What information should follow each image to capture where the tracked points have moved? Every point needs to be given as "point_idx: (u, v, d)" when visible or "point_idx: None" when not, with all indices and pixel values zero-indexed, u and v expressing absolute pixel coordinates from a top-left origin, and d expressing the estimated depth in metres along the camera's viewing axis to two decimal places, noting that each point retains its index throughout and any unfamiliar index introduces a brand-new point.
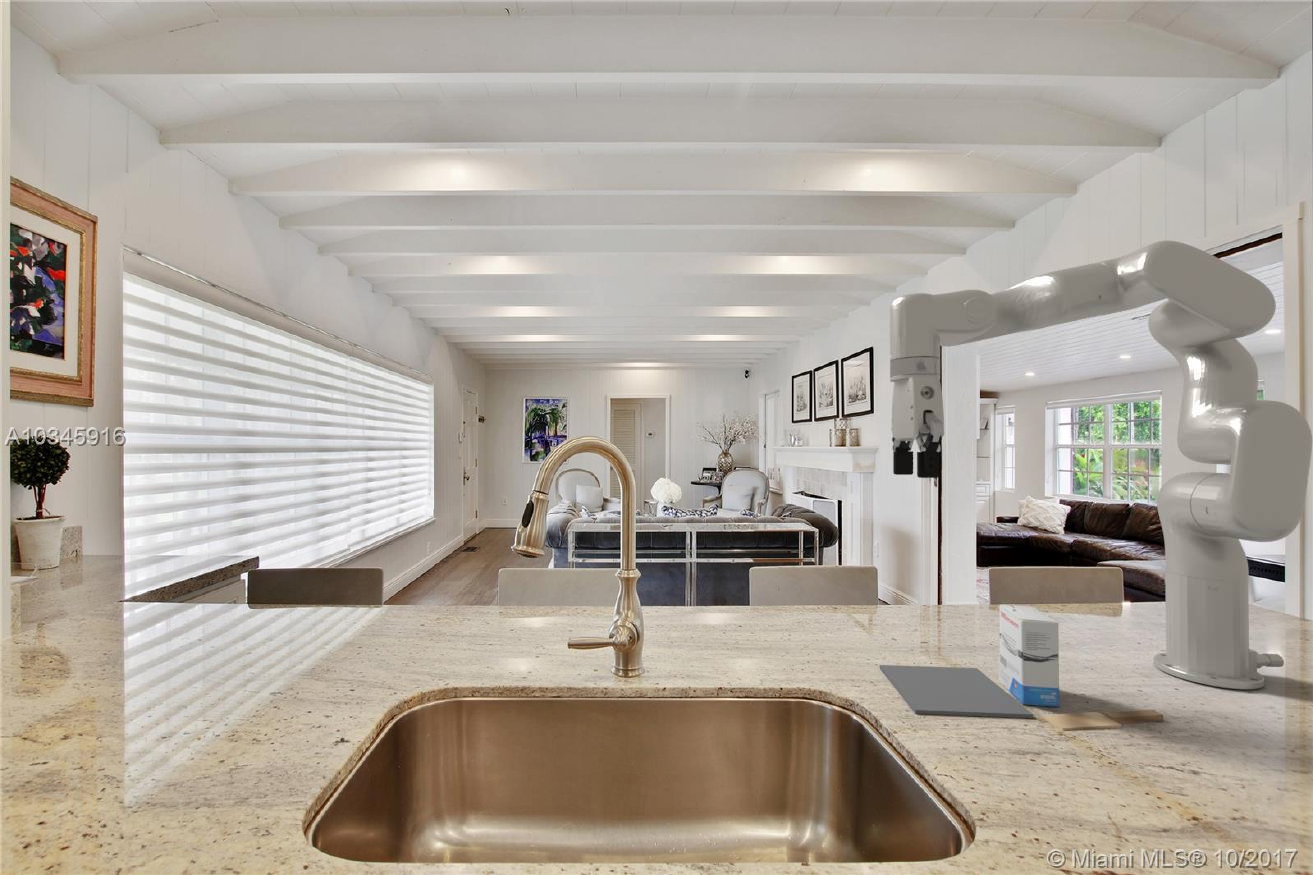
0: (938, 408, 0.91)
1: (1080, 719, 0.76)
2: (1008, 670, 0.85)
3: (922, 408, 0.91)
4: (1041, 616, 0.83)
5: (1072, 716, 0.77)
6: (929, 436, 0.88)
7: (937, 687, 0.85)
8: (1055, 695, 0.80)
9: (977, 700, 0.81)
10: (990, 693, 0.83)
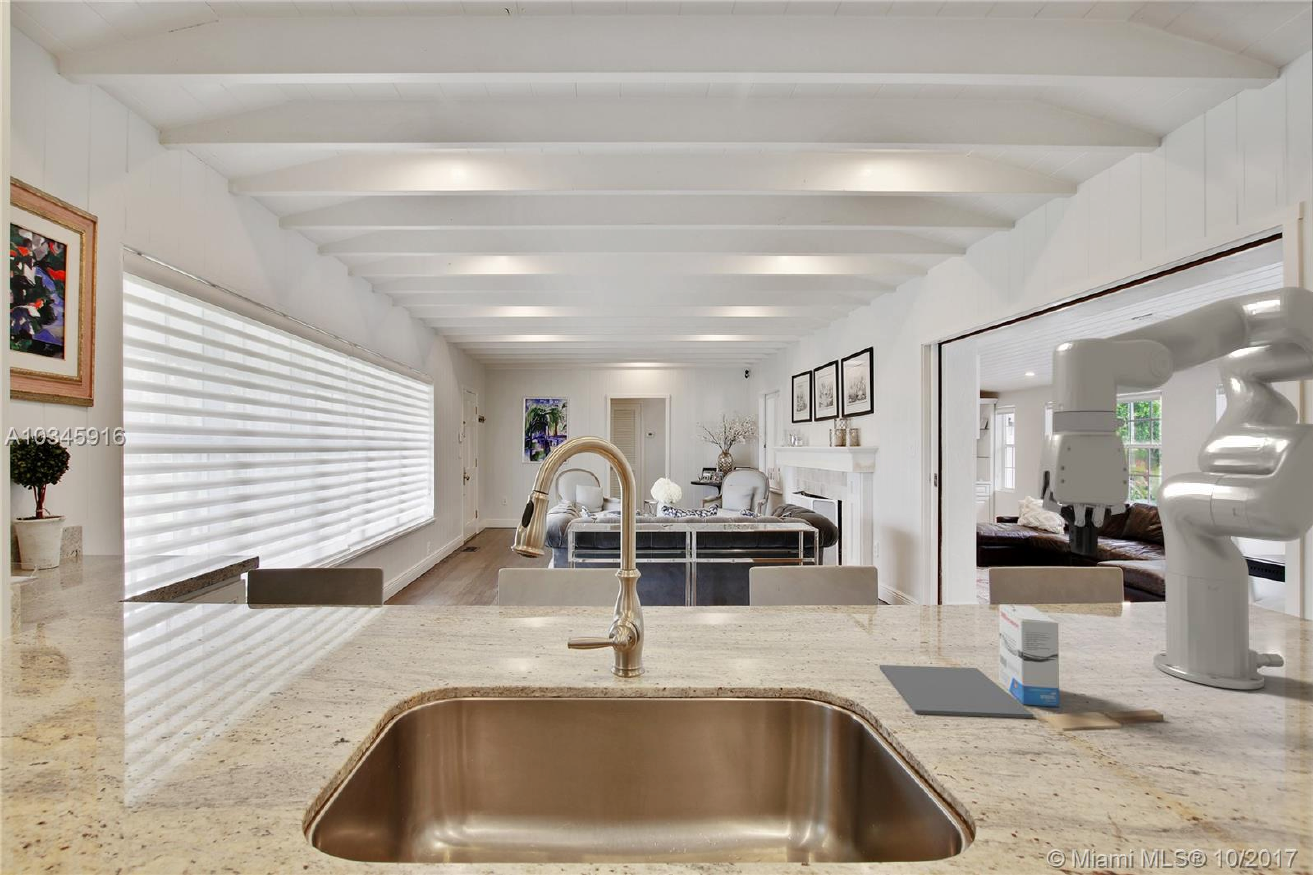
0: None
1: (1080, 719, 0.76)
2: (1008, 670, 0.85)
3: None
4: (1041, 616, 0.83)
5: (1072, 716, 0.77)
6: (1109, 510, 0.83)
7: (937, 687, 0.85)
8: (1055, 695, 0.80)
9: (977, 700, 0.81)
10: (990, 693, 0.83)
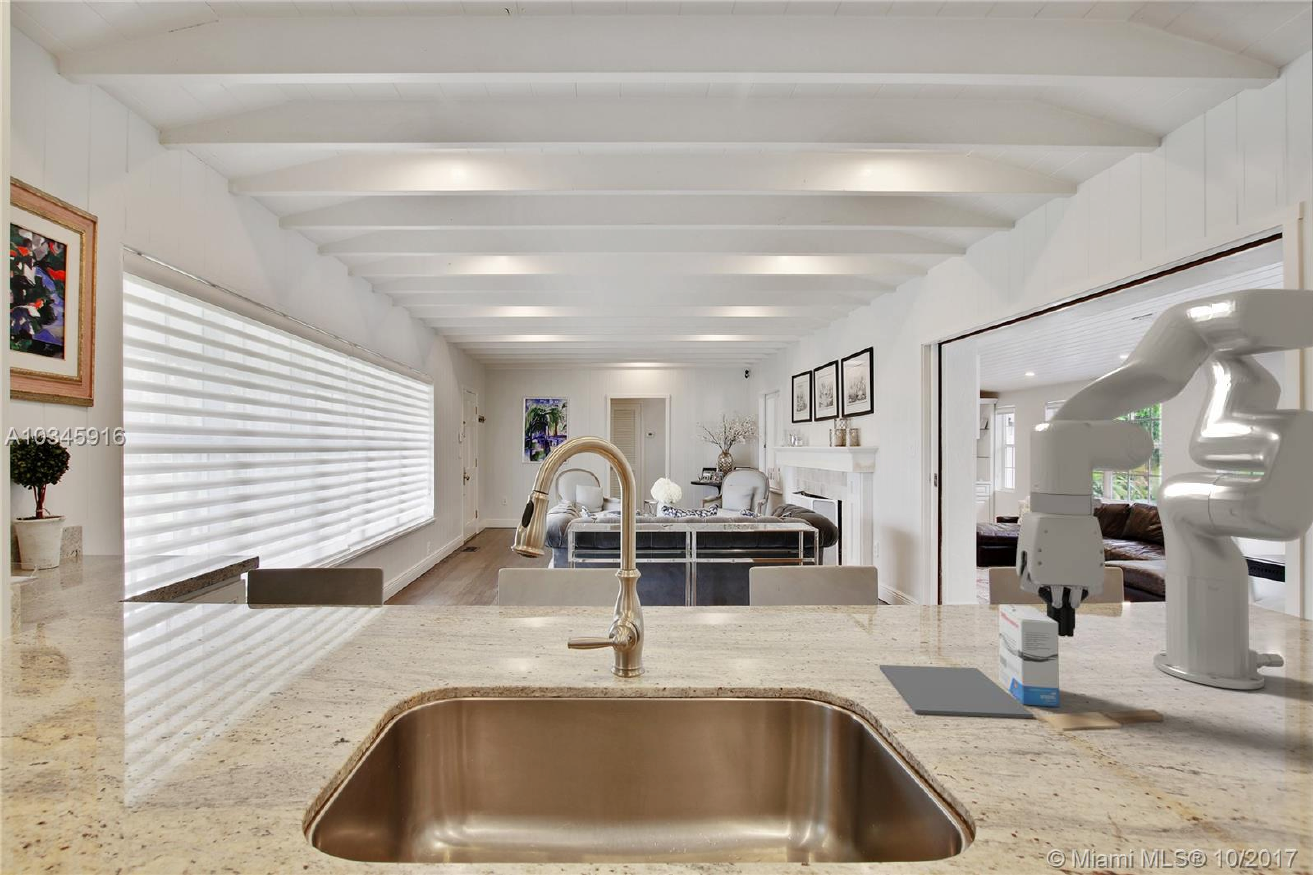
0: None
1: (1080, 719, 0.76)
2: (1008, 670, 0.85)
3: (1101, 552, 0.83)
4: (1041, 616, 0.83)
5: (1072, 716, 0.77)
6: (1086, 591, 0.83)
7: (937, 687, 0.85)
8: (1055, 695, 0.80)
9: (977, 700, 0.81)
10: (990, 693, 0.83)
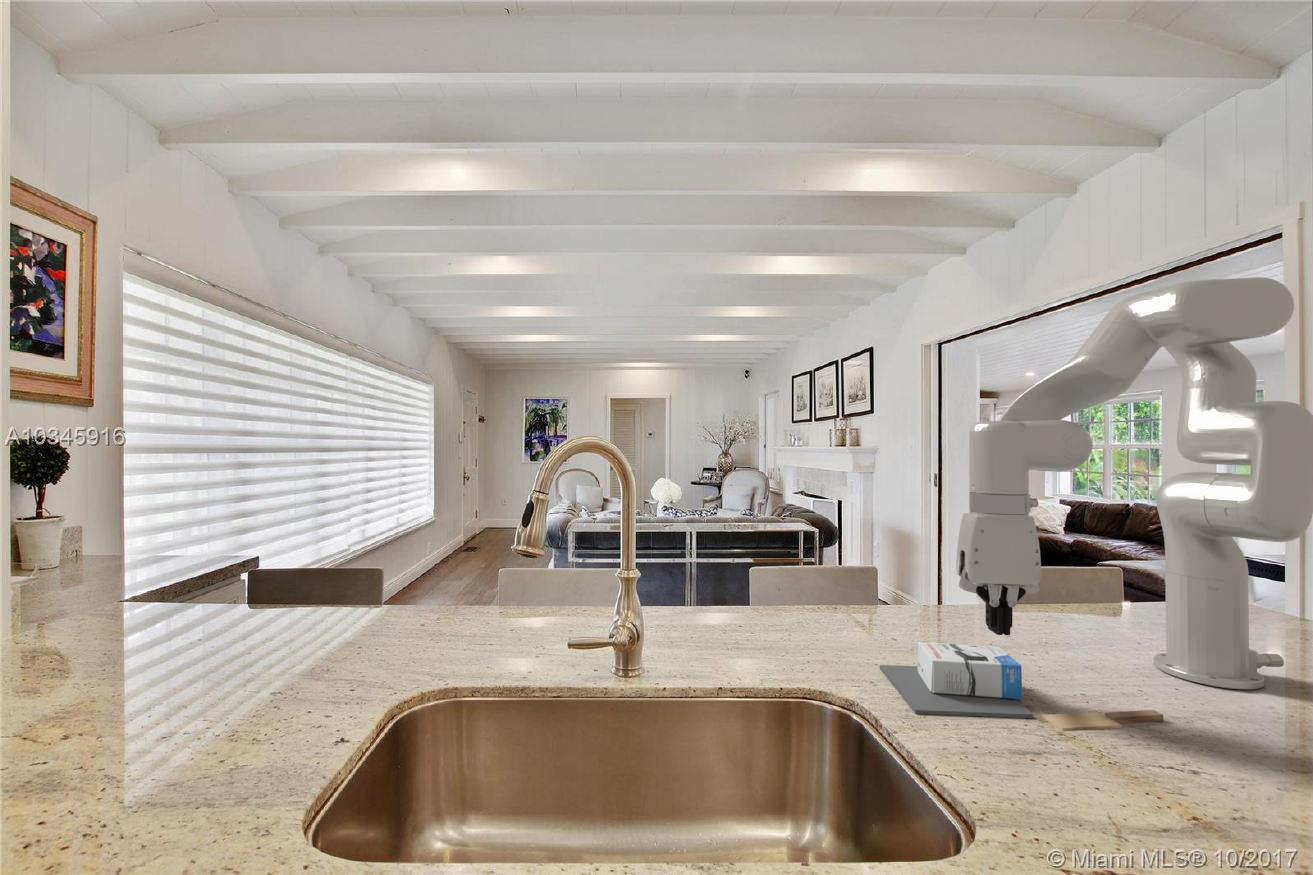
0: None
1: (1080, 719, 0.76)
2: None
3: None
4: (927, 661, 0.85)
5: (1072, 716, 0.77)
6: (1023, 590, 0.84)
7: None
8: (1010, 669, 0.81)
9: (977, 700, 0.81)
10: None
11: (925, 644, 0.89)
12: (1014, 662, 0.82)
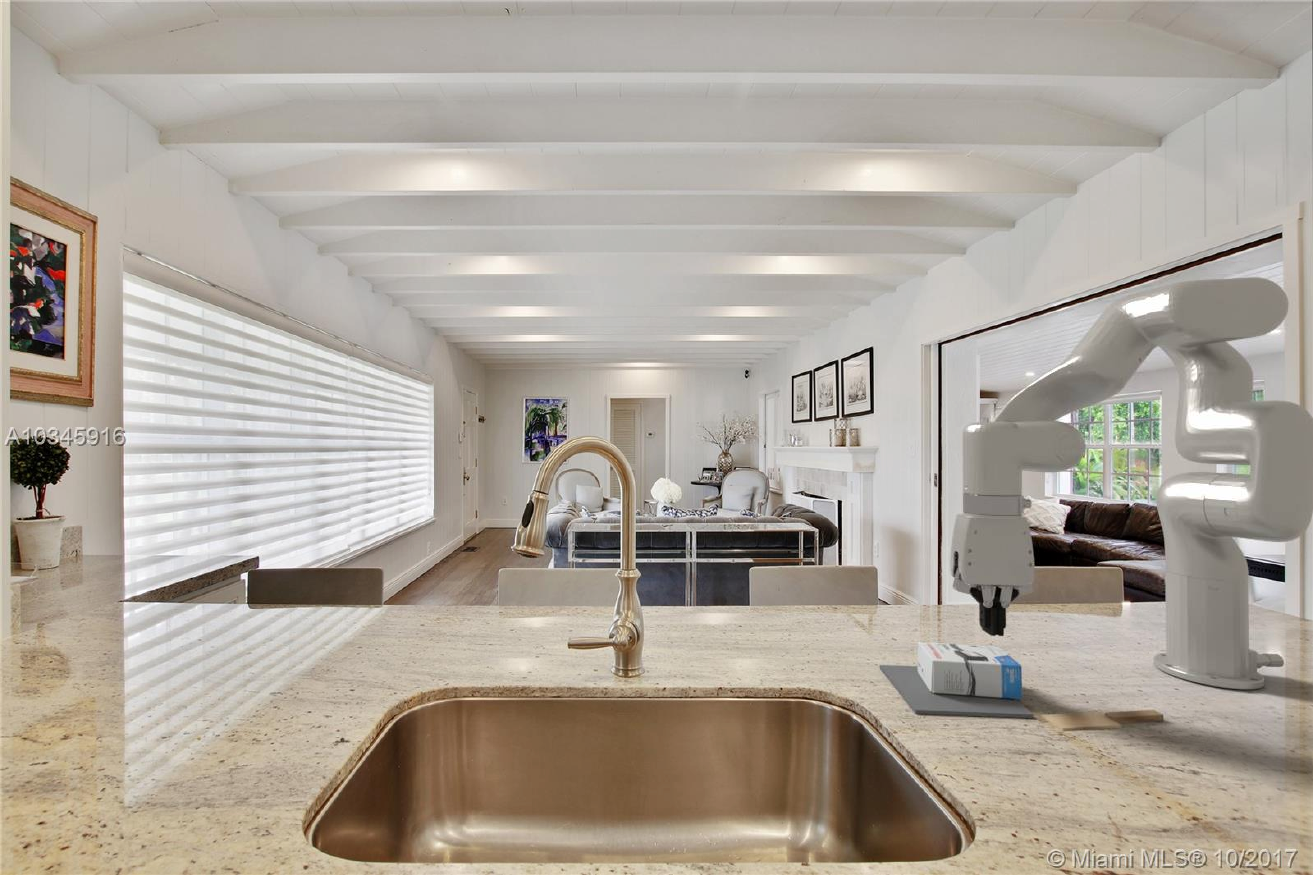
0: None
1: (1080, 719, 0.76)
2: None
3: None
4: (927, 661, 0.85)
5: (1072, 716, 0.77)
6: (1017, 591, 0.84)
7: None
8: (1010, 669, 0.81)
9: (977, 700, 0.81)
10: None
11: (925, 644, 0.89)
12: (1014, 662, 0.82)
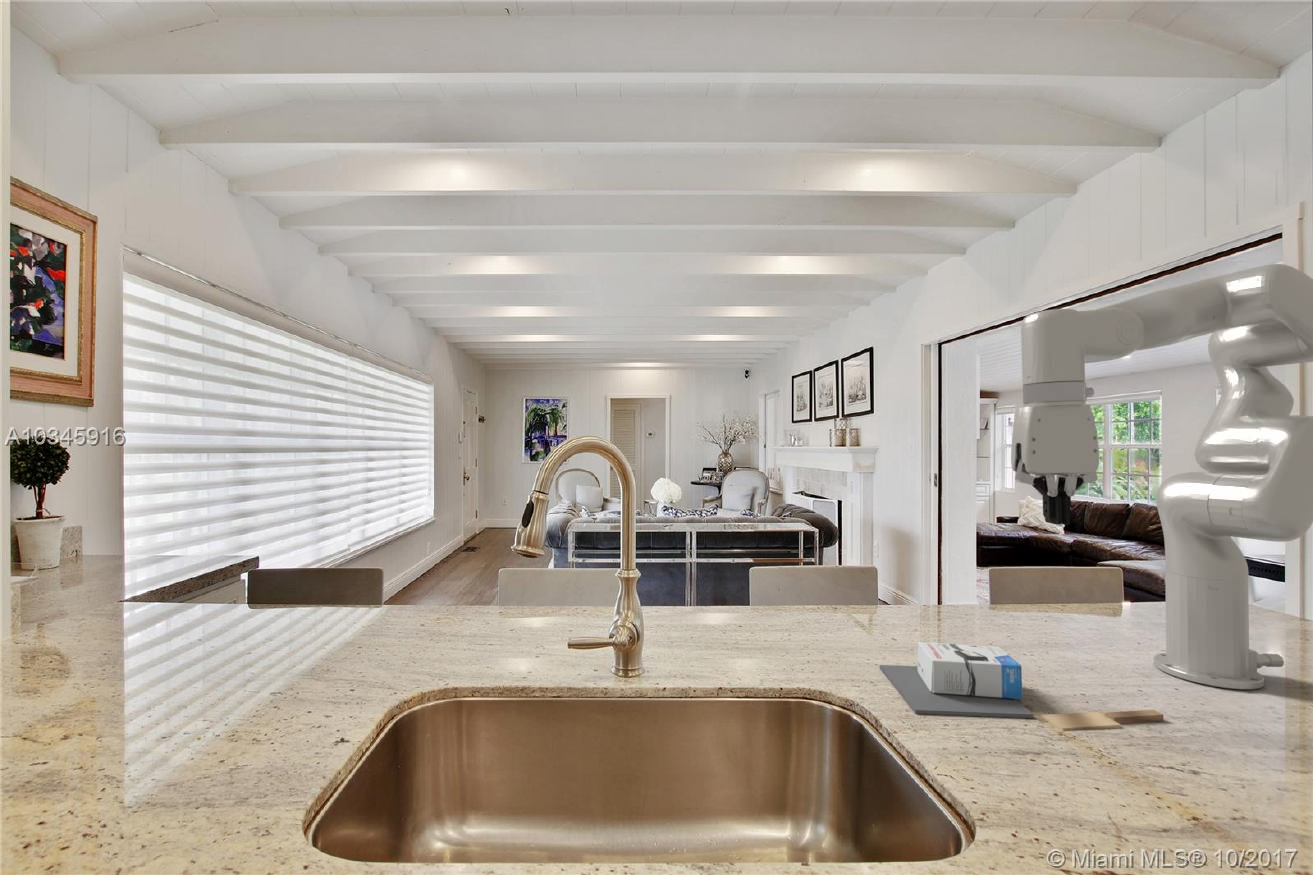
0: None
1: (1080, 719, 0.76)
2: None
3: None
4: (927, 661, 0.85)
5: (1072, 716, 0.77)
6: (1081, 479, 0.83)
7: None
8: (1010, 669, 0.81)
9: (977, 700, 0.81)
10: None
11: (925, 644, 0.89)
12: (1014, 662, 0.82)
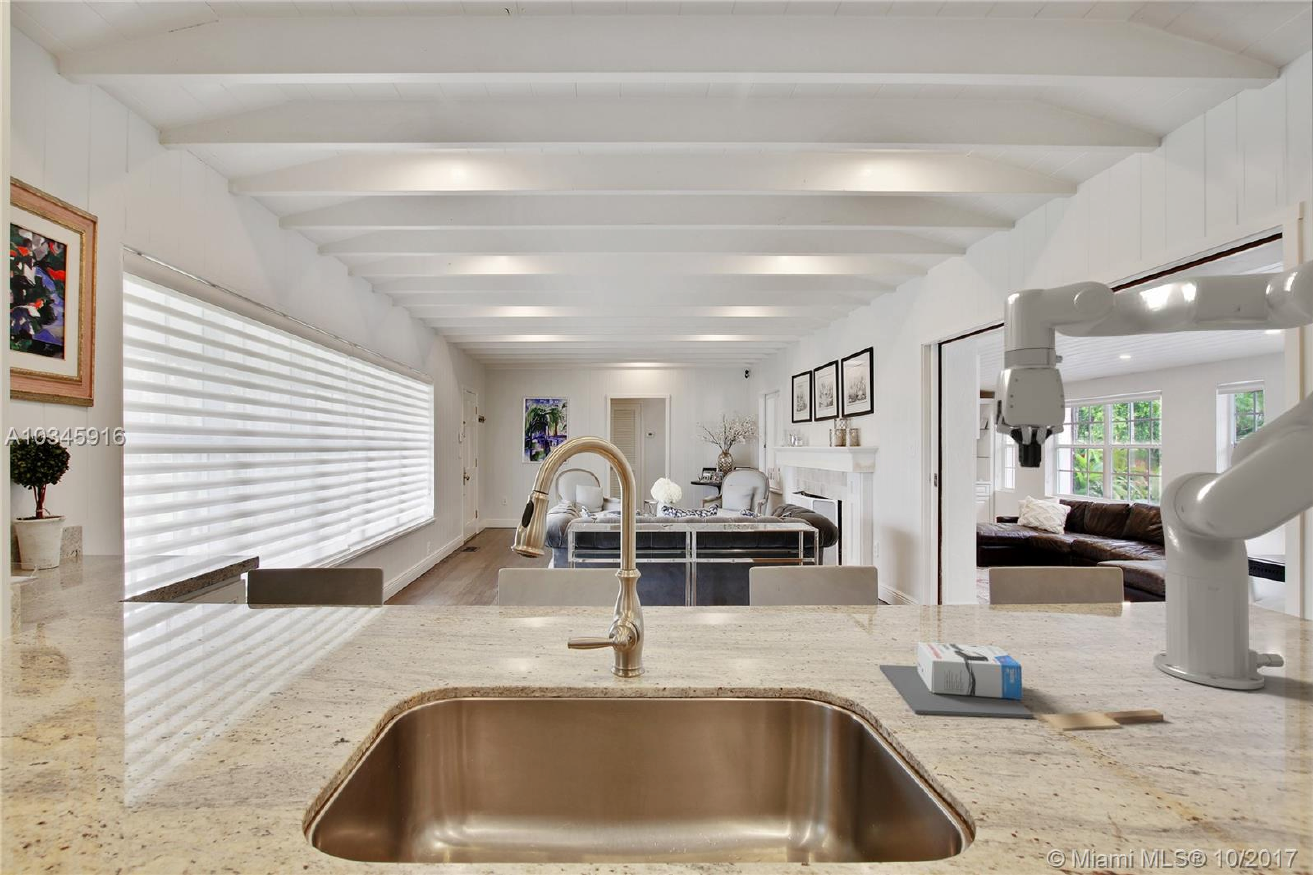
0: None
1: (1080, 719, 0.76)
2: None
3: None
4: (927, 661, 0.85)
5: (1072, 716, 0.77)
6: (1050, 430, 1.01)
7: None
8: (1010, 669, 0.81)
9: (977, 700, 0.81)
10: None
11: (925, 644, 0.89)
12: (1014, 662, 0.82)
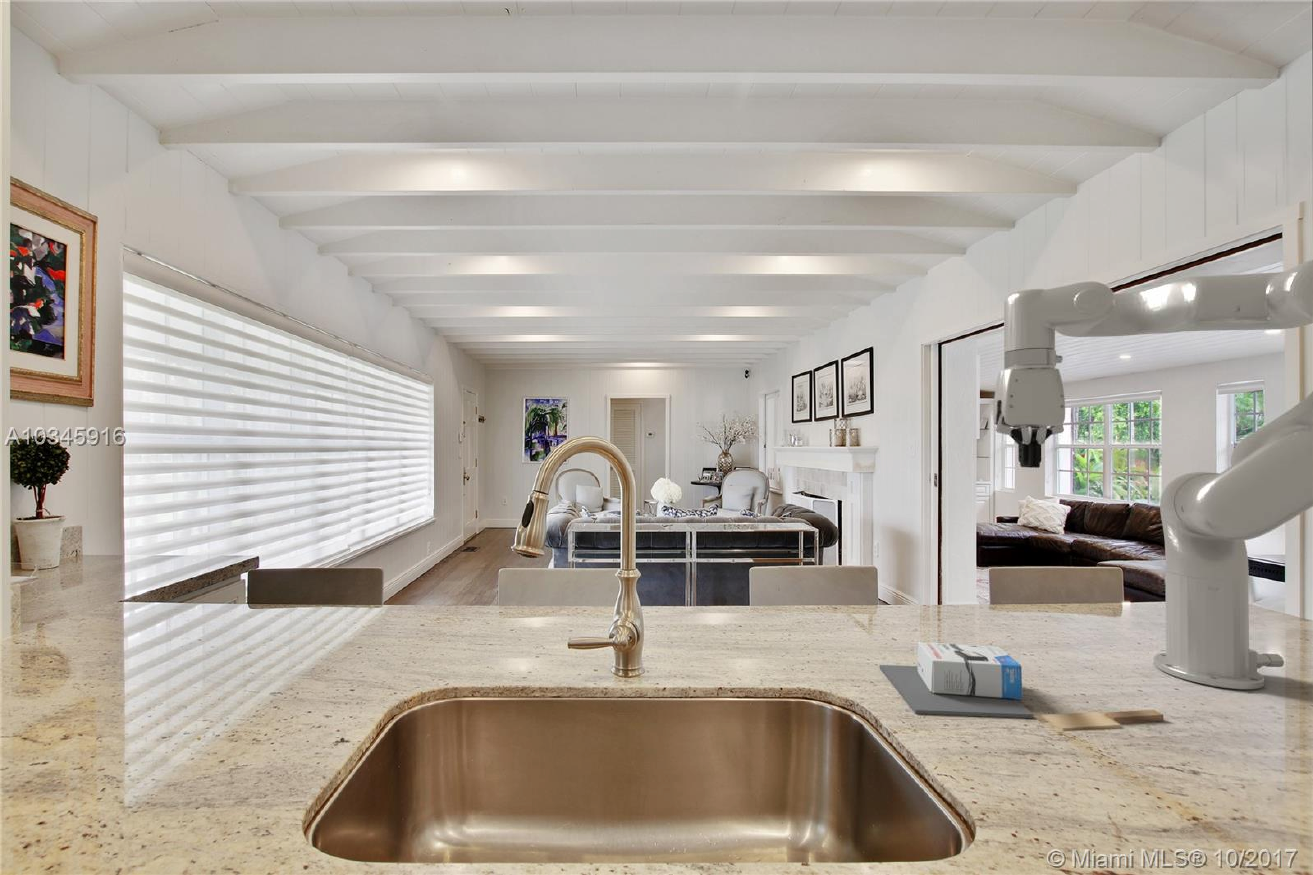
0: None
1: (1080, 719, 0.76)
2: None
3: None
4: (927, 661, 0.85)
5: (1072, 716, 0.77)
6: (1050, 430, 1.01)
7: None
8: (1010, 669, 0.81)
9: (977, 700, 0.81)
10: None
11: (925, 644, 0.89)
12: (1014, 662, 0.82)
